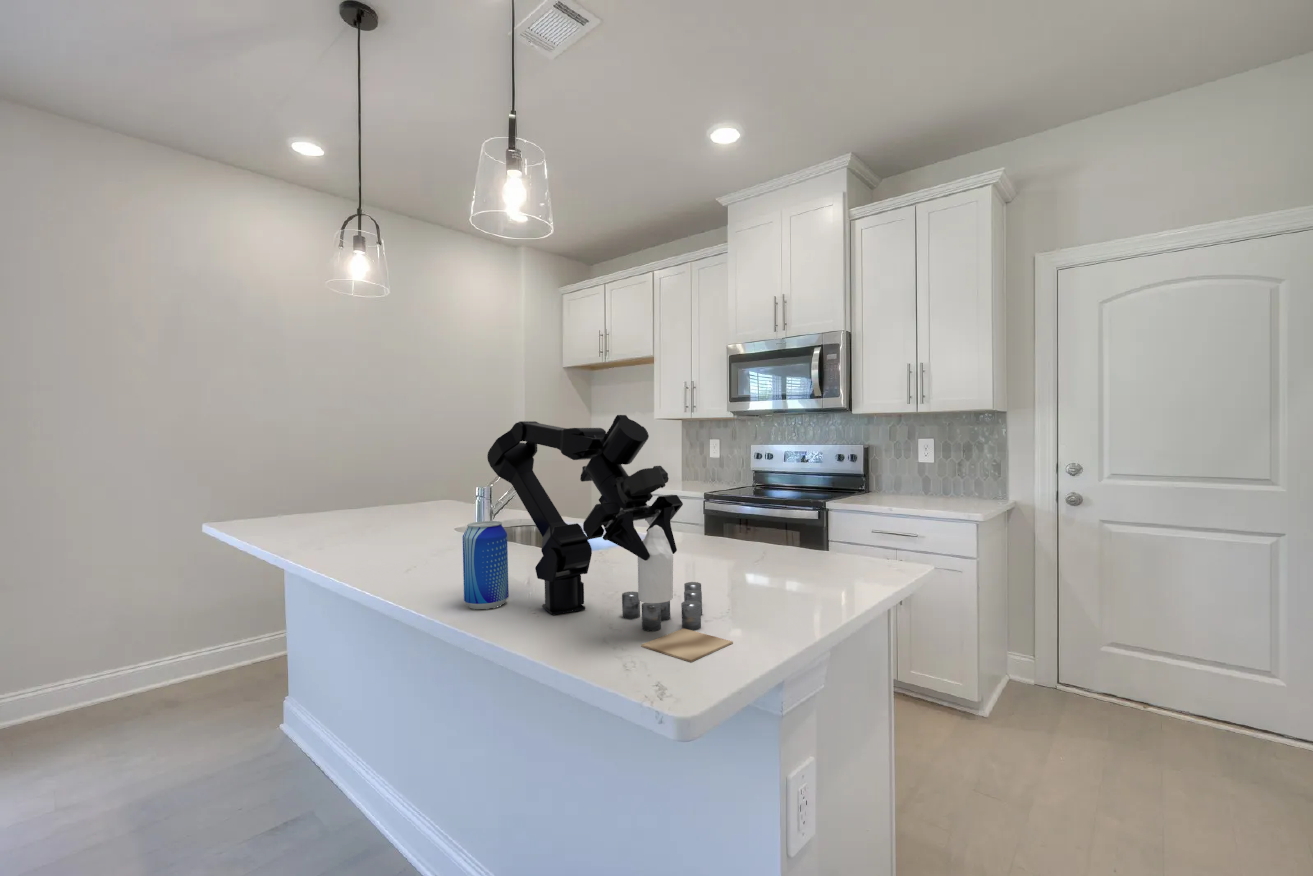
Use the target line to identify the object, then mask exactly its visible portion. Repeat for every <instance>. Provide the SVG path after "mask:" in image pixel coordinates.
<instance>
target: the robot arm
mask: <svg viewBox="0 0 1313 876" xmlns="http://www.w3.org/2000/svg"><path fill="white" fill-rule="evenodd" d="M649 437H650V436H649V433H648V430H647V429H646V428H645V426H642V425H641V424H639V423H638V422H637V421H636V420H635V421H634V420H632V419H631V418H629V417H628V416H627V414H617V415H616V416H615V418H614V419H613V422H612V424H611V426H610V427H609V429H608V430H607V431H606V429H604V428H602V427H569V428H565V427H560V426H556V425H551V424H545V423H540V422H538V421H534V420H533V421H529V420H528V421H526V420H524V421H518V422H515V424H513V425H512V428H510V430H508V431H507V432H505V433H504V434H502V435H501V436H500V437H498V438H497V439H495V441H494V442H493V444H492V446H490V448H489V450H488V452H487V457H486V458H487V462H488V464H489V466H490V468H491V469H492V471H494V473H495V474H496V475H497V477H499V478H501V479H502V480H504V481H506V482H507V483H509V484H511V486H512V487H513V489H514V491H515V492H516V494H517V496H518V497H519V499H520V501H521V503H522V504H523V506H524V507H525V509H526V511H527V513H528V515H529V516H530V518H531V520H532V522H533V523H534V525H535V526H536V528H537V530H538V531H539V534H541V537H542V540H541V553H542V557H541V558H540V560H539V561H538V563H537V564H536V566H535V573H536V578H537V579H539V580H543V581H544V603H543V604H542V605H541V606H542V608H543V609H544V610H545V611H547V612H548V613H549V614H551V616H552V615H553V616H554V615H560V614H567V613H573V612H578V611H583V610H586V606H584V604H585V585H584V582H583V581H582V575H587V574H588V572H589V568H590V563H591V558H592V554H593V551H592V545H591V543H590V542H589V540H593V539H597V538H602V540H604V541H609V542H610V543H613V544H615V545H617V546H619V547H620V548H623V549H624V550H626V551H628V552H629V553H631V554H633V555H635V556H637V558H638V557H640V558H642V559H643V560H645V561H646V560H648V559H649V558H650V555H649V552H648V550H647V548H646V546H645V545H644V543H643V540H642V538H641V537H640V534H639V532H638V531H637V530H636V527H635V526H634V524H635V523H634V522H635V521H641V520H644V521H646V522H647V524H648V525H649V526H648V527H647V529H646V533H647V532H648V529H650V528H652V527H653V526H654V525H658V526H659V527H661V528H662V529H663V530H664V533H665V536H666V537H667V540H668V542H669V544H670V548H671V551H672V553H673V555H674V554H676V552H677V551H678V549H677V545H676V544H677V543H676V541H675V538H674V534H673V530H672V524H671V520H673V518H674V516H675V515H677V513H678V512H679V511H680V509H681V508H682V507H683V505H684V503H683V501H682V499H680V497H679V496H678V495H677V494H667V495H666V494H665V495H658V496H657V498H655V501H653V503H652V504H651V505H648V504H647V503H648V502H649V501H651V499H652V498H653V494H652V493H653V492H655V491H657V490H658V489H660V488H661V489H663V488H665V487H666V484H667V483H668V482H669V479H670V478H669V474H668V472H667V471H666V470H665V468H664V467H662V465H654V466H653V467H647V468H642V469H639V470H637V471H635V472H634V473H633V474H631V475H629V474H628V472H627V471H626V470H625V468H624V467H623V466H622V465H624V466H625V465H630V464H632V462H633V461H634V460H635V459H636V457H637V455H638V454H639V453H640V452H641V450H642V449H643V447H644V446H645V444H646V442H647V441H648V439H649ZM538 445H540V446H543V447H548V448H551V449H552V448H554V449H557V450H559V451H560V453H561V454H562V455H563V456H565V457H567V458H569V459H570V460H573V461H581V460H586V461H587V460H589V461H588V463H586V465H584V466H582V472H581V473H580V479H579V480H580V482H582V483H583V482H592V483H593V484H594V486H595V487H596V489H597V491H598V492H599V494H600V495H601V496H600V497H599V499H598V501H599V503H595V505H593V508H592V510H591V511H590V513H589V514H588V515H587V517H586V518H585V519H584V521H583V522H582V523H583V524H582V526H583V527H582V526H581V525H580V524H579V523H577V522H576V523H570V524H568V523H566V522H565V520H564V519H563V516H561V514H560V512H559V510H558V509H557V507H556V506H555V505H554V503H553V501H552V500H551V498H550V496H549V495H548V493H547V492H546V490H545V488H544V487H543V485H542V483H541V482H540V480H539V479H538V477H537V475H536V474H535V472H534V463H535V459H534V457H535V455H536V454H537V453H538Z"/></svg>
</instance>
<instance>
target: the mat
mask: <svg viewBox="0 0 1313 876" xmlns="http://www.w3.org/2000/svg"><path fill="white" fill-rule="evenodd" d="M733 643H734V641H733V640H729V639H726V638H725V639H724V638H721V637H717V636H713V635H711V634H707V633H702V632H700V631H696V630H688V629H684V628H681V629H678V630H675V631H673V632H670V633H668V634H665V635H663V636H660V637H657V638H655V639H652V640H649V641H647V642H645V643H641V644H640V645H641V647H642V648H644V649H648V650H650V651H653V652H654V651H655V652H657V653H662V654H664V655H667V656H670V657H673V658H676V659H679V660H682V661H686V662H689V663H693V662H695V661H698V660H699V659H702V658H704V657H706V656H708V655H710V654H713V653H715V652H717V651H719V650H721V649H724V648H726V647H728V646H731V645H733Z"/></svg>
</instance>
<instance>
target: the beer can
mask: <svg viewBox="0 0 1313 876" xmlns="http://www.w3.org/2000/svg"><path fill="white" fill-rule="evenodd" d="M466 526H467V528H466V530H465V531H464V533H463V535H462V565H463V566H462V567H463V569H462V570H463V573H462V574H463V601H464V603H465V604H466V605H467V607H468V606H469V607H470V608H474V609H473V610H475V609H486V610H490V609H489V608H493V609H495V608H494V607H497V606H500V605H502V604H504V603H505V604H506V602H507V600H508V599H509V559H508V555H509V553H508V533H507V531H506V529H505V528H504V526H503V522H502V521H499V520H498V521H497V520H486V521H485V520H484V521H476V522H470V523H467V524H466ZM505 604H504V605H505ZM469 607H468V608H469ZM500 607H501V606H500ZM470 608H469V609H470ZM497 608H498V607H497Z"/></svg>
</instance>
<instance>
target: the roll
mask: <svg viewBox="0 0 1313 876" xmlns="http://www.w3.org/2000/svg"><path fill="white" fill-rule="evenodd" d="M647 529H648V528H647ZM642 541H643V543H644V545H645V546H646V548H647V550H648V552H649V555H650V558H649V559H648V560H646V561H645V560H643V559H642V558H640V557H638V556H637V584H638V586H637V587H638V588H637V590H638V591H637V592H638V599H639V600H640V603H662V602H668V601H670V602H671V601H672V599H674V590H673V589H674V554H673V553H672V551H671V548H670V544H669V542H668V540H667V537H666V536H665V533H664V530H663V529H662V528H661V527H659V526H658V525H654V526H653V527H652V528H650V529H648V532H647V531H646V535H645V537H644V539H643V540H642Z"/></svg>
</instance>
